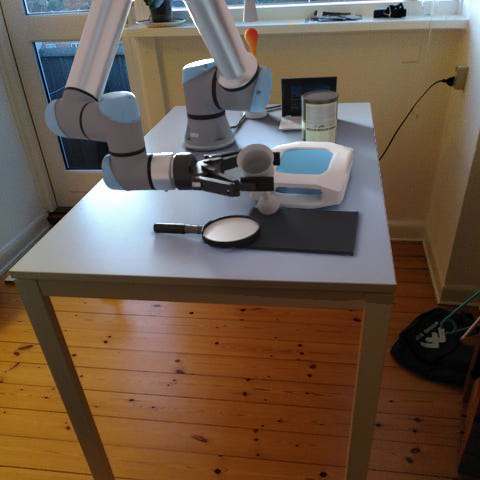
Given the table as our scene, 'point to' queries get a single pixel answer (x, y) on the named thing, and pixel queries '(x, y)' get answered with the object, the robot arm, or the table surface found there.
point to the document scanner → (311, 173)
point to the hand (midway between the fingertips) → (277, 170)
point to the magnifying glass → (219, 231)
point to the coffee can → (319, 116)
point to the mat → (306, 231)
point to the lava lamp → (252, 43)
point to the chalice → (259, 172)
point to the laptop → (292, 97)
